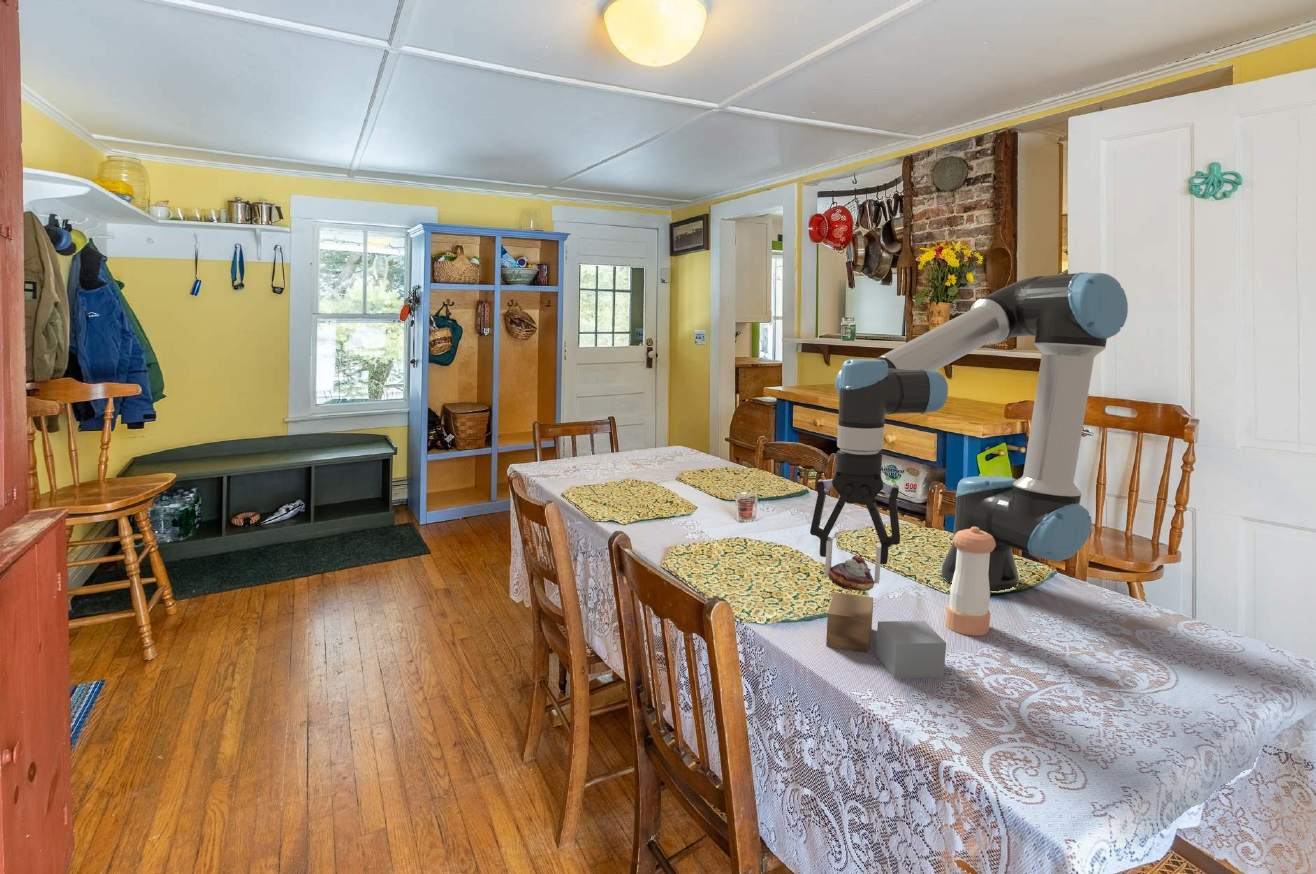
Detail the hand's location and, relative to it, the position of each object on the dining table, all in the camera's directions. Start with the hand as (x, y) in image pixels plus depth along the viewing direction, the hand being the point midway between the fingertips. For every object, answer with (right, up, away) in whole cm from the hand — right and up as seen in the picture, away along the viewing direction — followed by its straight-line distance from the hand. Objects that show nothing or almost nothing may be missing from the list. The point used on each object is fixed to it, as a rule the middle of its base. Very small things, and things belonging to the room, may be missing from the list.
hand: (852, 577), depth 120 cm
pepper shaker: (+23, -11, +6) cm, 26 cm away
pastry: (-1, -1, -1) cm, 2 cm away
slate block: (+7, -13, -8) cm, 17 cm away
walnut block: (0, -11, +2) cm, 11 cm away
